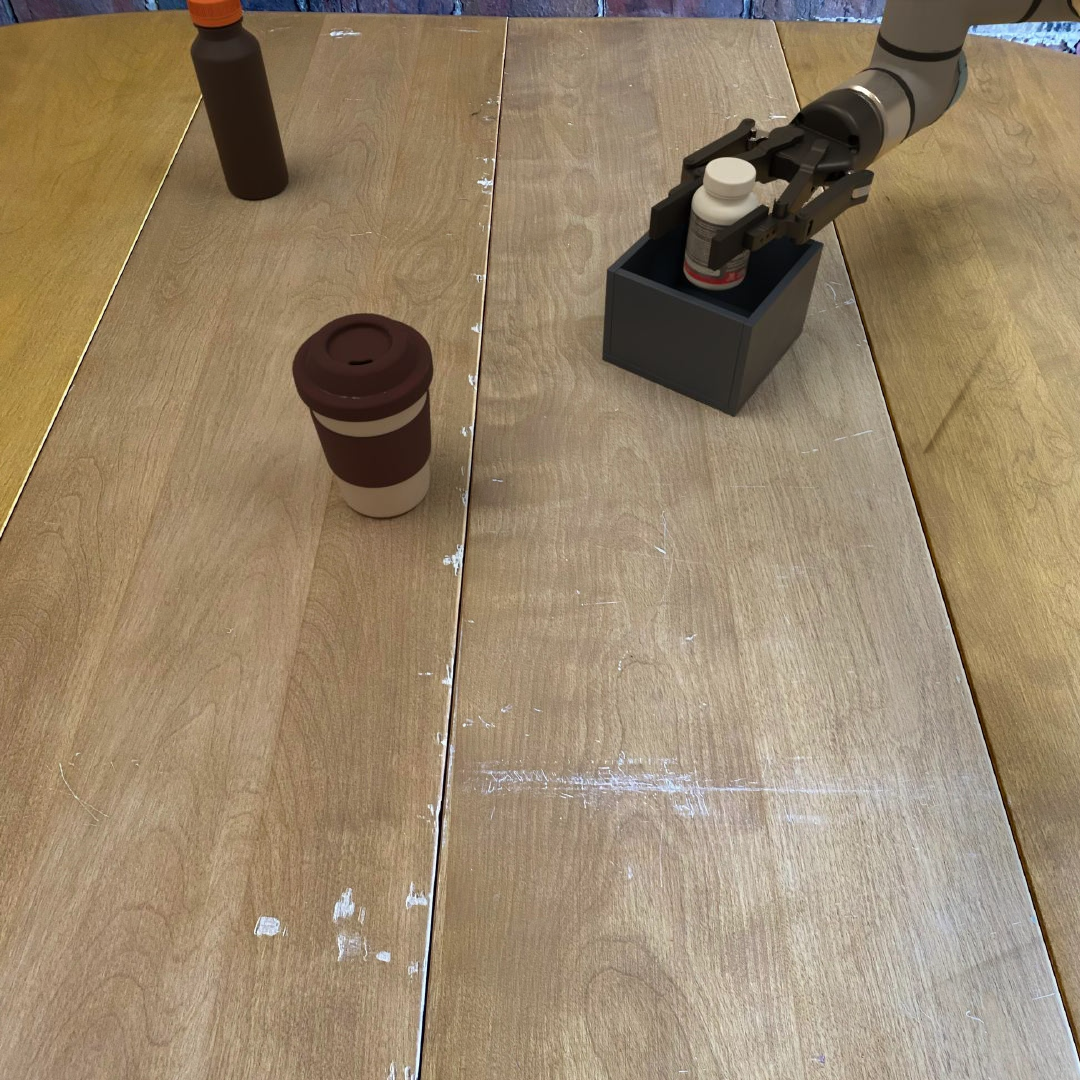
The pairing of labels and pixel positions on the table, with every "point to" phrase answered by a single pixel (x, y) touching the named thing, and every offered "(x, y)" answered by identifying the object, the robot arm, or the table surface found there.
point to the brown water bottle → (237, 99)
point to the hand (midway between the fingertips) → (683, 239)
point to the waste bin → (706, 317)
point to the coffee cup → (370, 409)
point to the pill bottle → (719, 221)
